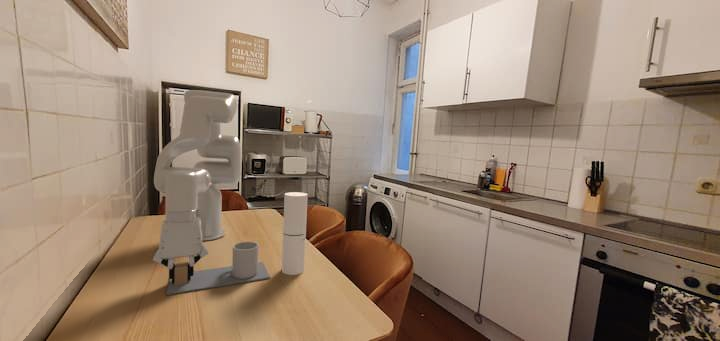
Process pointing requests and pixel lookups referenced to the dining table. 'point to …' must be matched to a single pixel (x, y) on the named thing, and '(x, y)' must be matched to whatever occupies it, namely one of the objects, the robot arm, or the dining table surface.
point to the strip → (208, 278)
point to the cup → (245, 260)
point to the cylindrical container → (294, 233)
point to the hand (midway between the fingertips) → (181, 279)
